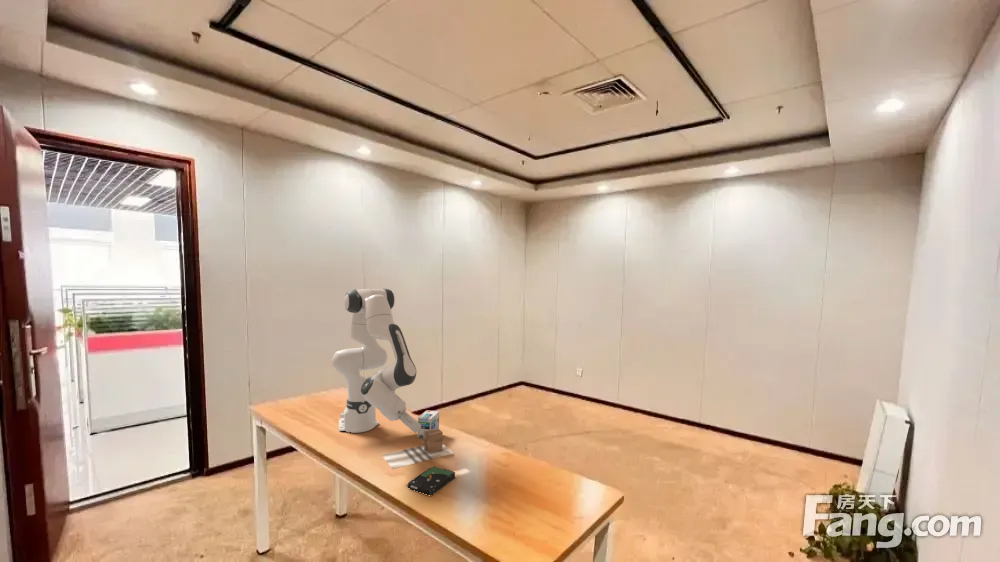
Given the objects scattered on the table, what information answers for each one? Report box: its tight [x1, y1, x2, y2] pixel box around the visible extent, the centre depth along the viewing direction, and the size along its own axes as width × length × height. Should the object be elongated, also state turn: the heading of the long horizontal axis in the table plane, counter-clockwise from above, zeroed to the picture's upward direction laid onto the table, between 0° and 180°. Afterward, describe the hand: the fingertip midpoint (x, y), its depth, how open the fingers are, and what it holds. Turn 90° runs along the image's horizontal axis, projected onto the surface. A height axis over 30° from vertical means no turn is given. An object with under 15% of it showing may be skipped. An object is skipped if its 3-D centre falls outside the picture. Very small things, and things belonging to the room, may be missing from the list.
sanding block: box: [423, 428, 444, 454], centre depth 169 cm, size 5×6×8 cm
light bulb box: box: [417, 409, 440, 440], centre depth 186 cm, size 11×7×11 cm, turn 168°
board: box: [381, 443, 455, 470], centre depth 165 cm, size 14×26×2 cm, turn 124°
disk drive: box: [407, 465, 456, 497], centre depth 145 cm, size 10×3×15 cm
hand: (417, 428), depth 165 cm, fingers open, 8 cm apart
